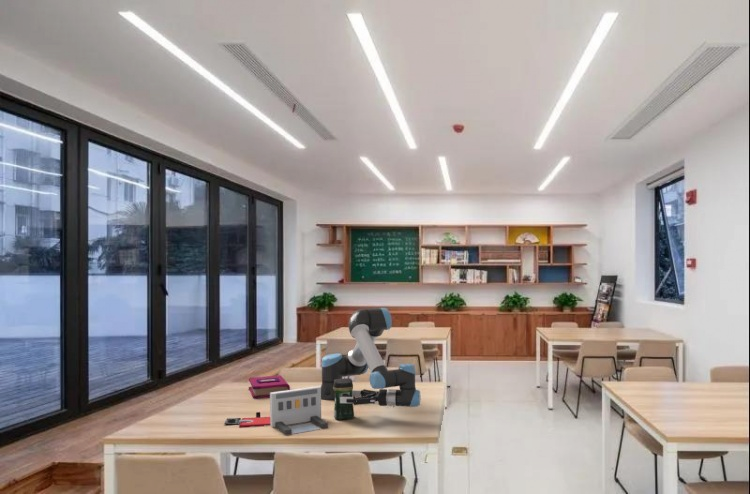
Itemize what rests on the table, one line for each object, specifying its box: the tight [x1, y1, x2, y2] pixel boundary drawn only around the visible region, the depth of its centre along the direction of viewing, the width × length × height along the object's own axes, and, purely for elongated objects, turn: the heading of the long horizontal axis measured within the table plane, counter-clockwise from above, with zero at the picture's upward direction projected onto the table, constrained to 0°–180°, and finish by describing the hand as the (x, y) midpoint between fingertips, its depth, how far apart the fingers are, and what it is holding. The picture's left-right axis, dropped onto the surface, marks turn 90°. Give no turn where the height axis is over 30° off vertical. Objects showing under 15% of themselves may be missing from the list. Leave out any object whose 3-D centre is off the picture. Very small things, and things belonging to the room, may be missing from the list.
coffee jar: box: [333, 377, 355, 421], centre depth 238 cm, size 10×8×19 cm
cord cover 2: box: [310, 416, 329, 430], centre depth 228 cm, size 14×3×2 cm, turn 28°
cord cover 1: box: [274, 421, 292, 436], centre depth 220 cm, size 14×3×2 cm, turn 28°
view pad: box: [288, 422, 320, 435], centre depth 222 cm, size 11×12×1 cm
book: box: [248, 374, 291, 400], centre depth 296 cm, size 21×28×8 cm
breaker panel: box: [269, 385, 322, 428], centre depth 232 cm, size 4×24×15 cm, turn 118°
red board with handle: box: [224, 411, 270, 428], centre depth 234 cm, size 30×3×15 cm
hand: (343, 396), depth 237 cm, fingers open, 13 cm apart
